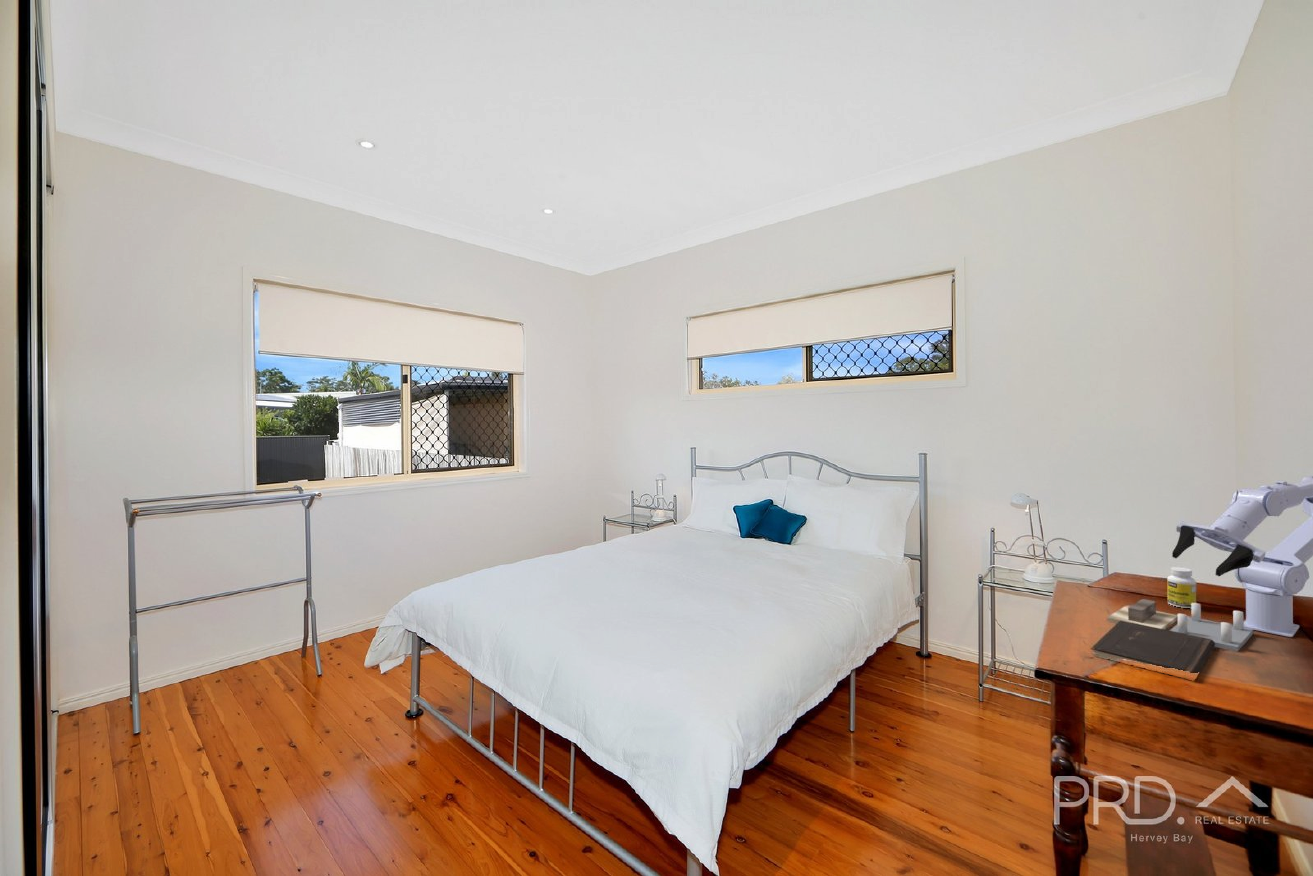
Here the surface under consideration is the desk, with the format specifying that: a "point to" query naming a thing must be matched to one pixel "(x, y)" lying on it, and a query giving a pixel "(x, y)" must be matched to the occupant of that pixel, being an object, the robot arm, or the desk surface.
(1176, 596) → the supplement bottle
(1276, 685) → the desk surface
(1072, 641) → the desk surface
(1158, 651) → the hardcover book
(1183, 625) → the peg stand
